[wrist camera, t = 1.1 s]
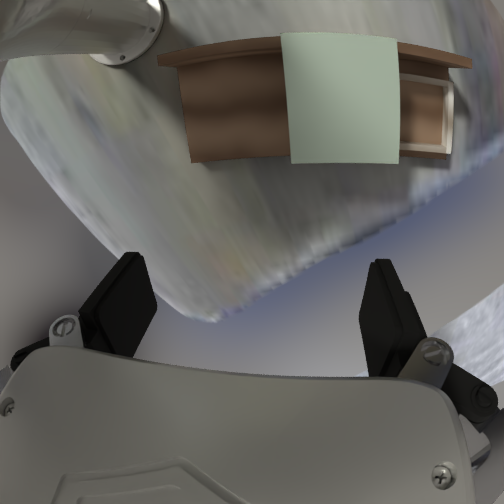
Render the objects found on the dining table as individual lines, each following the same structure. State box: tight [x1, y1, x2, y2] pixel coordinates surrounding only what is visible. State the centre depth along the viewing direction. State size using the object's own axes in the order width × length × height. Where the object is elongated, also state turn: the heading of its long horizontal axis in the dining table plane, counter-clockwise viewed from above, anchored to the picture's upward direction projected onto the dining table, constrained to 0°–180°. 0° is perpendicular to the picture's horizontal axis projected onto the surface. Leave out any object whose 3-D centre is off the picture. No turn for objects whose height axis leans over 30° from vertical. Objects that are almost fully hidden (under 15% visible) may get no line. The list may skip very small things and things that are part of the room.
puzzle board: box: [157, 36, 472, 163], centre depth 29 cm, size 14×34×8 cm, turn 96°
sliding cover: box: [280, 32, 400, 164], centre depth 24 cm, size 13×11×2 cm
